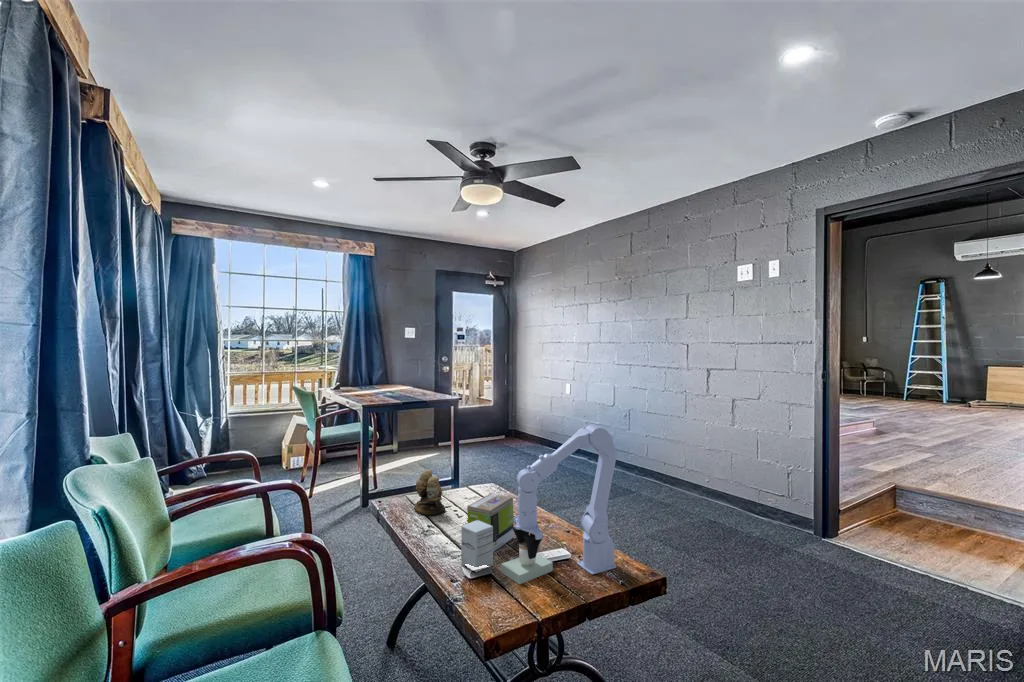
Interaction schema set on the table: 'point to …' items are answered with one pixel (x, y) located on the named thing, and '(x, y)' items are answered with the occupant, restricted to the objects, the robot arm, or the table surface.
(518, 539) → the robot arm
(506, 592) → the table surface
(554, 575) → the table surface
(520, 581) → the sage book
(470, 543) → the supplement box
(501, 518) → the tea box
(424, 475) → the brown rock sculpture
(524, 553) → the cream cup
